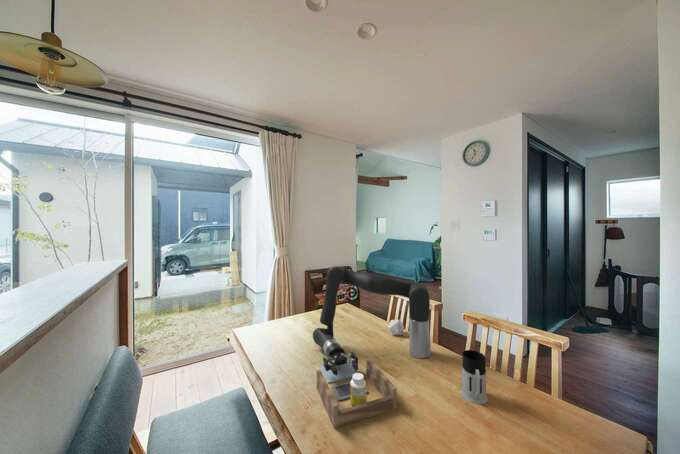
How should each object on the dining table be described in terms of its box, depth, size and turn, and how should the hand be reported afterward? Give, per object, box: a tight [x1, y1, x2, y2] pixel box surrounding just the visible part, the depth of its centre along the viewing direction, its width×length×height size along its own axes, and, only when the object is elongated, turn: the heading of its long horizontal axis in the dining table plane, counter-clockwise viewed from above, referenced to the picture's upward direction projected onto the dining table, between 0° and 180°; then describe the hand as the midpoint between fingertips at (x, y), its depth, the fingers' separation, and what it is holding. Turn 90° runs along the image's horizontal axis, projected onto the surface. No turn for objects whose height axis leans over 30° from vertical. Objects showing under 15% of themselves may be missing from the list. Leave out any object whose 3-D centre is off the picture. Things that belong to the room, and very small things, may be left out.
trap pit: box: [331, 380, 370, 402], centre depth 96 cm, size 8×12×1 cm, turn 110°
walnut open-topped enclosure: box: [315, 357, 398, 429], centre depth 92 cm, size 20×23×7 cm
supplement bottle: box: [349, 372, 367, 407], centre depth 89 cm, size 6×6×10 cm
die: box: [388, 319, 405, 336], centre depth 143 cm, size 8×9×10 cm
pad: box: [319, 361, 357, 384], centre depth 108 cm, size 12×13×1 cm
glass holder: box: [460, 349, 489, 405], centre depth 90 cm, size 9×14×15 cm, turn 161°
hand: (346, 370), depth 99 cm, fingers open, 8 cm apart
